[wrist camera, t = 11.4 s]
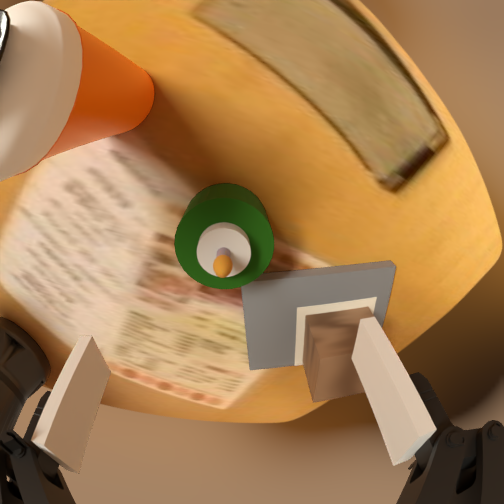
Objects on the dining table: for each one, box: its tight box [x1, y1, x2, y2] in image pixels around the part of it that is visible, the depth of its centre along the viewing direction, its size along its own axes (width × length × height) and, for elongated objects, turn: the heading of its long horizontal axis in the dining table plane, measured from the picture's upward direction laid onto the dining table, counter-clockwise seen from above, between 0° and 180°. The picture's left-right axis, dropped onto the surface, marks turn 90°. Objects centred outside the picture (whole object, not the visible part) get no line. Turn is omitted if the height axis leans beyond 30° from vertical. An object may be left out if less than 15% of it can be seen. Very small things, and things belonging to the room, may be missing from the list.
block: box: [302, 307, 392, 402], centre depth 31 cm, size 8×8×7 cm
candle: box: [174, 183, 274, 289], centre depth 24 cm, size 8×8×10 cm
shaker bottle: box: [0, 1, 154, 181], centre depth 13 cm, size 9×9×20 cm
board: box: [241, 261, 396, 370], centre depth 34 cm, size 18×14×2 cm
